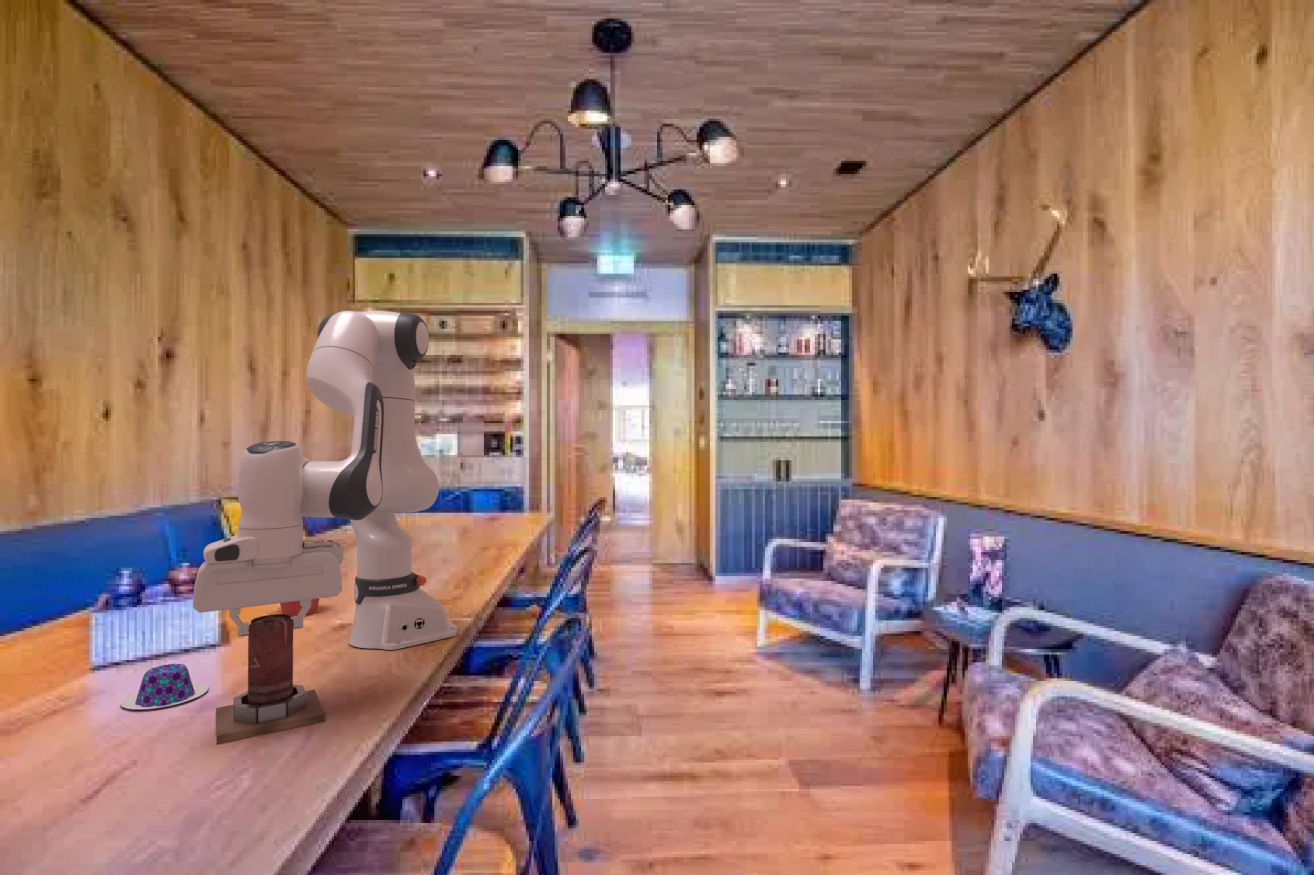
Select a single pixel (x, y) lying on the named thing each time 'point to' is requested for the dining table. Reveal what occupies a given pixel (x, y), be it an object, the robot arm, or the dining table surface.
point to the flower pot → (298, 607)
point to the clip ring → (268, 708)
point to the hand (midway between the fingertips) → (270, 631)
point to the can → (270, 659)
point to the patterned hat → (164, 688)
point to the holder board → (236, 731)
